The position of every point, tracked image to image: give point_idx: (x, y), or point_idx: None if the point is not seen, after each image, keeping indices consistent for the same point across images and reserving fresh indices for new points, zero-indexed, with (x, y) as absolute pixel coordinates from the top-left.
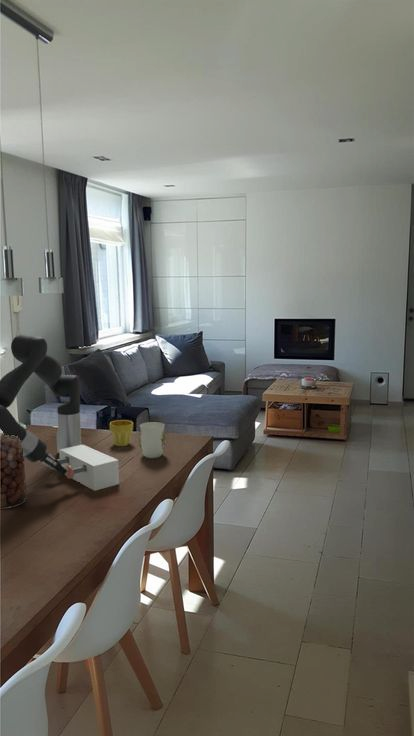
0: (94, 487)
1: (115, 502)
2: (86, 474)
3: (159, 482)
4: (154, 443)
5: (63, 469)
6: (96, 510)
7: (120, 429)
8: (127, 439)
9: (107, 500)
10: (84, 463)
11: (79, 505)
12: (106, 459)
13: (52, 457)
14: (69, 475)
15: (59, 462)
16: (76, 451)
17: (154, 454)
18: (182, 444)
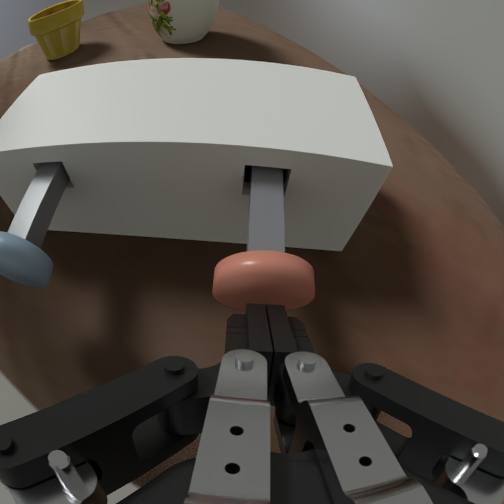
0: (346, 243)
1: (472, 264)
2: None
3: (376, 106)
4: (212, 4)
5: (306, 339)
6: (501, 346)
7: (65, 16)
8: (78, 34)
9: (451, 273)
10: (268, 158)
11: (448, 381)
12: (317, 86)
13: (393, 471)
14: (280, 304)
15: (40, 225)
16: (67, 107)
17: (206, 31)
18: None
